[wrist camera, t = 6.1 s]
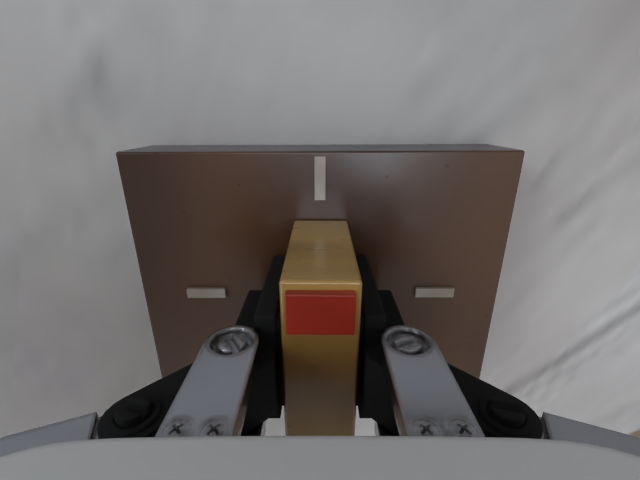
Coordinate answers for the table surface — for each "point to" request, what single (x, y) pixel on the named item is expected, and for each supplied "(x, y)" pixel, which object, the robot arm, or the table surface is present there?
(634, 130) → the table surface
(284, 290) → the thumbturn
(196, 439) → the robot arm
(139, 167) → the plate
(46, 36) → the table surface
